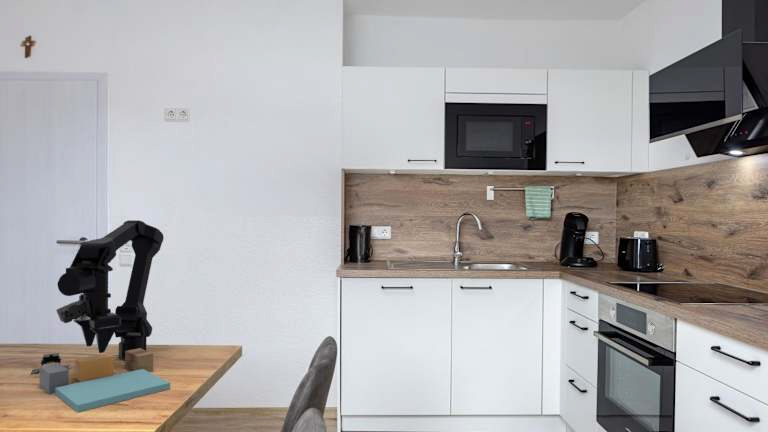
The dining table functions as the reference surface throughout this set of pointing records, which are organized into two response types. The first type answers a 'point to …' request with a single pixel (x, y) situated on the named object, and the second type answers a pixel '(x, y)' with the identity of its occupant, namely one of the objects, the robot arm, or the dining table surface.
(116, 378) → the teal board
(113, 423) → the dining table surface
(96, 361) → the orange brick
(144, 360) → the walnut brick
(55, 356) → the black angular block
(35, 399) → the dining table surface
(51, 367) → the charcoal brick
